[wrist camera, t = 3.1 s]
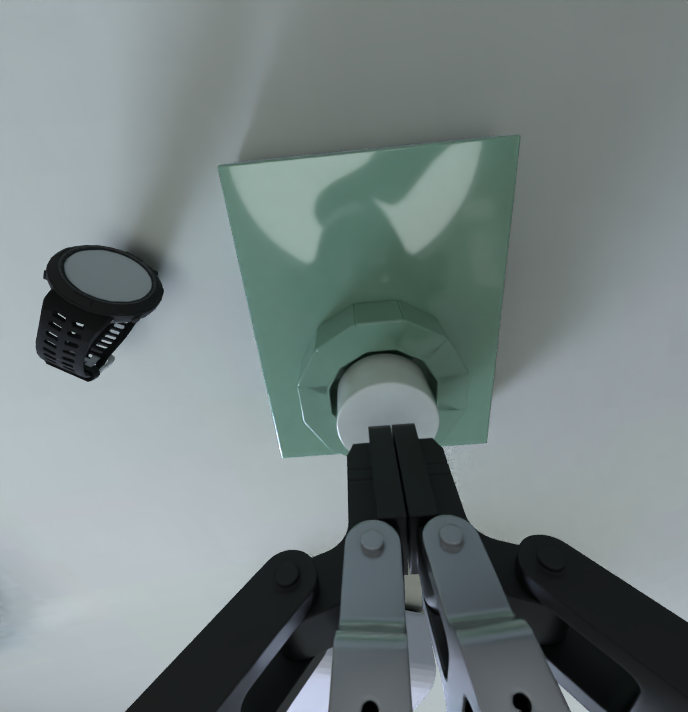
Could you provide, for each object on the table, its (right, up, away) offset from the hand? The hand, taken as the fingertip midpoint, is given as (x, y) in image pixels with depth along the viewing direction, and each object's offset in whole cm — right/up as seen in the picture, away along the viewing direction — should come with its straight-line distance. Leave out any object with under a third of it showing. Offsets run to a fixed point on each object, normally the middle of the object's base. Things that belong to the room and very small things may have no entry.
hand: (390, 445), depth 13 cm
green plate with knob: (0, +5, +5) cm, 7 cm away
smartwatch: (-11, +6, +5) cm, 14 cm away
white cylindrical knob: (0, +2, +3) cm, 3 cm away
